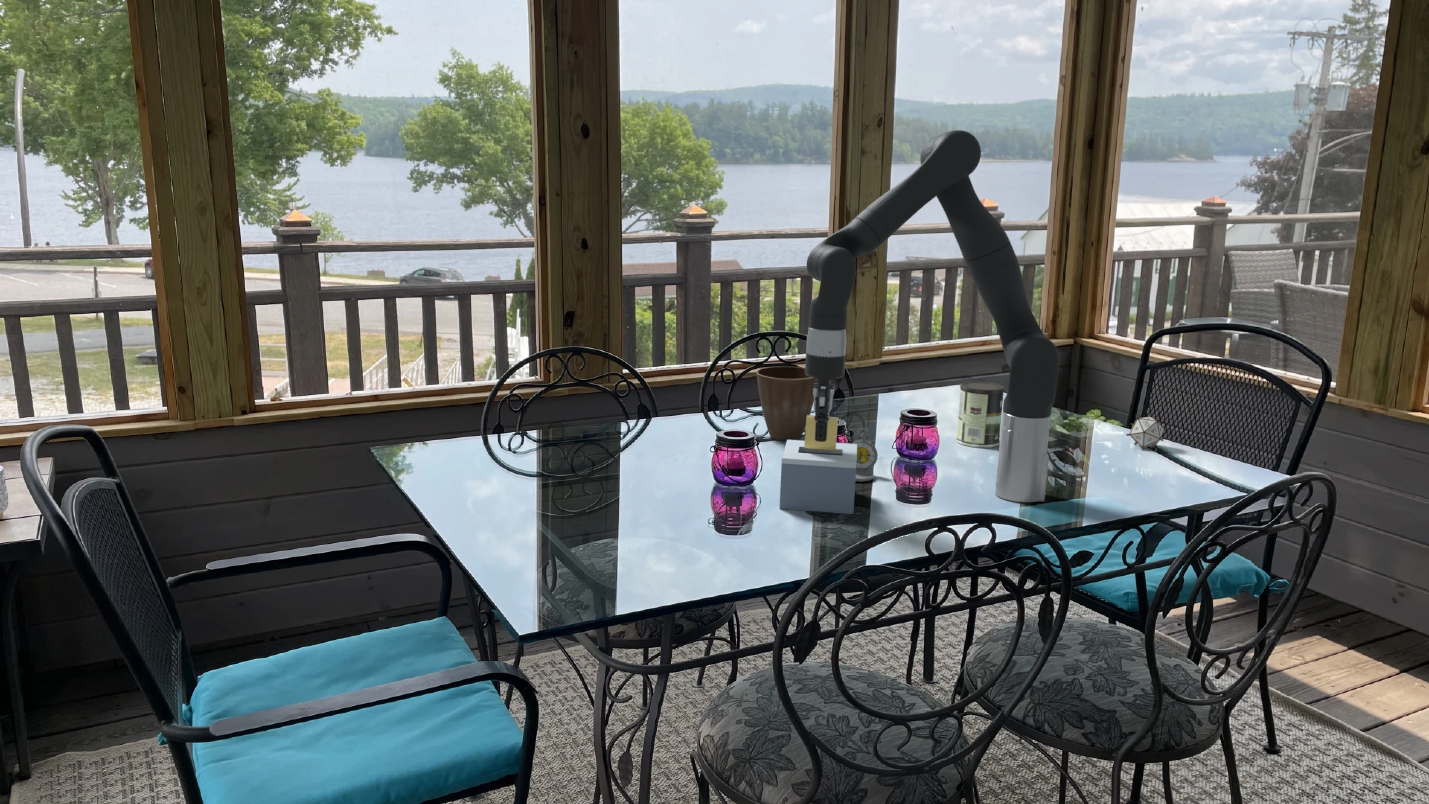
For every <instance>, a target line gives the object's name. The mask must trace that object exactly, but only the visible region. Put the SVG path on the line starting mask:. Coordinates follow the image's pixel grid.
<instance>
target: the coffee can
mask: <svg viewBox="0 0 1429 804" xmlns="http://www.w3.org/2000/svg"><path fill="white" fill-rule="evenodd" d="M959 386H960V387H959V388H960V393H959V403H958V416H957V417H958V419H957V429H956V430H957V431H956V440H955V441H956V443H957V444H960V445H962V446H965V447H972V448H980V449H982V448H983V449H985V448H986V449H987V448H996V447H998V446H1000V435H1001V426H1002V425H1001V424H1002V413H1003V403H1004V393H1005V392H1004V391H1005V386H1004V385H1002V384H999V383H996V382H989V381H976V380H975V381H964V382H961V383H960V384H959Z"/></svg>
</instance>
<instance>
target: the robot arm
mask: <svg viewBox="0 0 1429 804" xmlns="http://www.w3.org/2000/svg"><path fill="white" fill-rule="evenodd" d="M981 157H982V149H981V145H980V142H979V140H978V139H977V138H976V136H975V135H974V134H972V133H970V132H968V131H966V130H955V129H954V130H950V131H946V132H944V133H942V134H939V135H937V136H934V137H932V138H930V139H929V140H928V141H926V142H925V144H924V145H923V147H922V148H921V152H920V165H919V166H918V167H917V168H916V169H915V170H914V171H913V172H912V173H911V174H909V175H908V176H907V177H906V178H904V179H903V180H902V181H900V182H899V183H898V184H897V185H895V186H893V187H892V188H891V189H889V190H888V191H886V192H884V193H883V194H882V195H881V196H880V197H878V198H877V199H876V200H874V201H873V202H872V203H870V204H869V205H868V206H867V207H866V208H865V209H863V210H862V211H861V212H860V213H859V214H858V215H856V217H854V218H853V219H852V220H851V221H850V222H849V223H848V224H847V225H846V226H844V227H842V228H841V229H838V230H837V231H836V232H834V233H832V234H831V235H829V236H828V237H826V238H825V239H823V240H822V241H821V242H819V243H818V244H817V245H816V246H815V247H813V249H812V250H811V251H810V253H809V255H808V257H807V260H806V269H807V270H806V271H807V273H808V275H809V276H810V277H811V278H813V280H815V281H818V282H819V283H820V285H819V288H818V294H817V296H815V297H813V298H812V299H811V301H810V306H809V315H808V316H809V317H808V330H807V331H808V332H807V337H806V344H805V345H806V347H805V364H804V365H805V366H804V368H805V373H806V375H807V376H809V377H813V378H814V377H815V378H817V379H818V384H814V386H813V395H814V403H813V406H812V410H813V411H815V412H814V415H815V417H814V419H815V422H816V428H815V440H816V441H818V442H825V441H826V439H827V423H828V421H829V418H828V417H831V416H830V412H831V410H832V408H833V397H834V394H835V384H831V380H832V379H834V380H837V379H841V378H843V377H844V376H845V373H846V372H845V369H846V357H847V356H846V354H847V332H846V331H847V330H846V329H847V320H848V319H847V318H848V317H847V315H848V304H849V301H850V299H851V297H852V296H851V295H852V292H853V288H854V284H855V280H856V275H857V272H856V271H857V267H856V265H857V264H856V261H855V260H856V259H857V258H859V257H861V256H864V255H870V254H871V253H873V252H874V251H876V250H877V249H878V248H879V247H880V246H882V245H883V243H885V242H886V241H887V240H888V239H890V237H891V236H893V234H895V233H896V232H897V231H898V230H899V229H901V227H902V226H903V225H904V224H906V222H908V221H909V220H910V219H911V218H912V217H913V216H914V215H916V214H917V213H918V212H919V211H920V210H921V209H923V207H924V206H926V205H927V204H929V202H931V201H932V200H933V199H935V198H937V200H938V202H939V204H940V205H941V208H942V209H943V212H944V214H945V215H946V218H947V221H948V223H949V226H950V228H951V231H952V233H953V235H954V238H955V240H956V243H957V244H958V246H959V250H960V253H961V255H962V257H963V260H964V263H965V265H966V267H967V270H968V272H969V274H970V276H971V279H972V282H973V284H974V285H975V288H976V290H977V292H978V293H979V295H980V297H981V299H982V301H983V302H984V304H985V306H986V307H987V309H988V311H989V313H990V314H991V317H992V319H993V321H994V324H995V327H996V330H997V332H998V337H999V339H1000V342H1001V347H1002V351H1003V353H1004V358H1005V361H1006V364H1007V365H1008V367H1009V375H1008V384H1007V385H1008V386H1007V392H1006V394H1005V397H1003V405H1002V415H1001V427H1000V438H999V445H998V446H999V448H998V459H997V469H996V481H995V492H994V493H995V495H996V496H998V498H1000V499H1004V500H1007V501H1009V502H1010V501H1011V502H1016V503H1017V502H1018V503H1034V502H1045V497H1046V488H1047V486H1046V485H1047V478H1048V469H1049V459H1050V457H1049V454H1048V444H1049V433H1050V426H1051V415H1052V410H1053V409H1052V408H1053V406H1054V403H1055V400H1056V396H1057V395H1056V394H1057V387H1058V379H1059V372H1060V371H1059V370H1060V354H1059V350H1058V348H1057V346H1056V344H1055V343H1054V342H1053V341H1052V340H1050V339H1049V338H1048V337H1047V336H1046V335H1045V334H1044V332H1043V330H1042V329H1041V327H1040V325H1039V324H1038V322H1037V320H1036V318H1035V316H1034V314H1033V311H1032V310H1031V307H1030V304H1029V302H1028V299H1027V295H1026V290H1025V289H1026V287H1025V283H1024V278H1023V275H1022V269H1021V266H1020V263H1019V261H1018V257H1017V255H1016V253H1015V250H1014V248H1013V246H1012V243H1011V240H1010V239H1009V237H1008V234H1007V233H1006V231H1005V229H1004V228H1003V226H1002V225H1001V224H1000V223H999V222H998V220H997V219H996V218H995V217H994V216H993V215H992V214H991V212H990V211H989V210H988V209H987V208H986V207H985V205H984V204H983V203H982V202H981V200H980V198H979V197H978V195H977V192H976V191H975V188H974V186H973V183H972V181H971V178H970V175H971V174H972V173H974V172H975V170H976V169H977V167H978V166H979V163H980V161H981Z"/></svg>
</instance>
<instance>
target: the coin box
mask: <svg viewBox="0 0 1429 804" xmlns="http://www.w3.org/2000/svg"><path fill="white" fill-rule="evenodd" d="M785 442H786V443H785V446H784V449H783V453H782V457H781V470H780V487H779V488H780V489H779V491H780V493H779V509H780V510H794V511H806V512H821V513H836V514H847V515H853V514H854V511H855V510H854V508H855V507H854V506H855V495H856V494H855V491H856V481H855V479H856V462H857V460H858V459H857V444H851V443H845V442H836V450H835V451H834V450H823V449H811V448H804V445H805V440H800V439H799V440H787V441H785Z"/></svg>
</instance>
